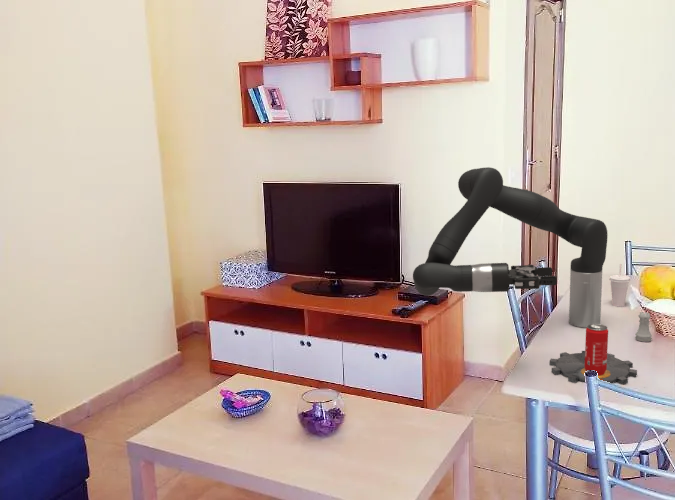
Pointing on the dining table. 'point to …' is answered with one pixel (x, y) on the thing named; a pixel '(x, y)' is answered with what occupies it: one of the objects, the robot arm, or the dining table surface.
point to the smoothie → (619, 288)
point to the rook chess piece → (644, 328)
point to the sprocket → (575, 370)
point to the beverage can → (596, 348)
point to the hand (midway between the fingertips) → (554, 275)
